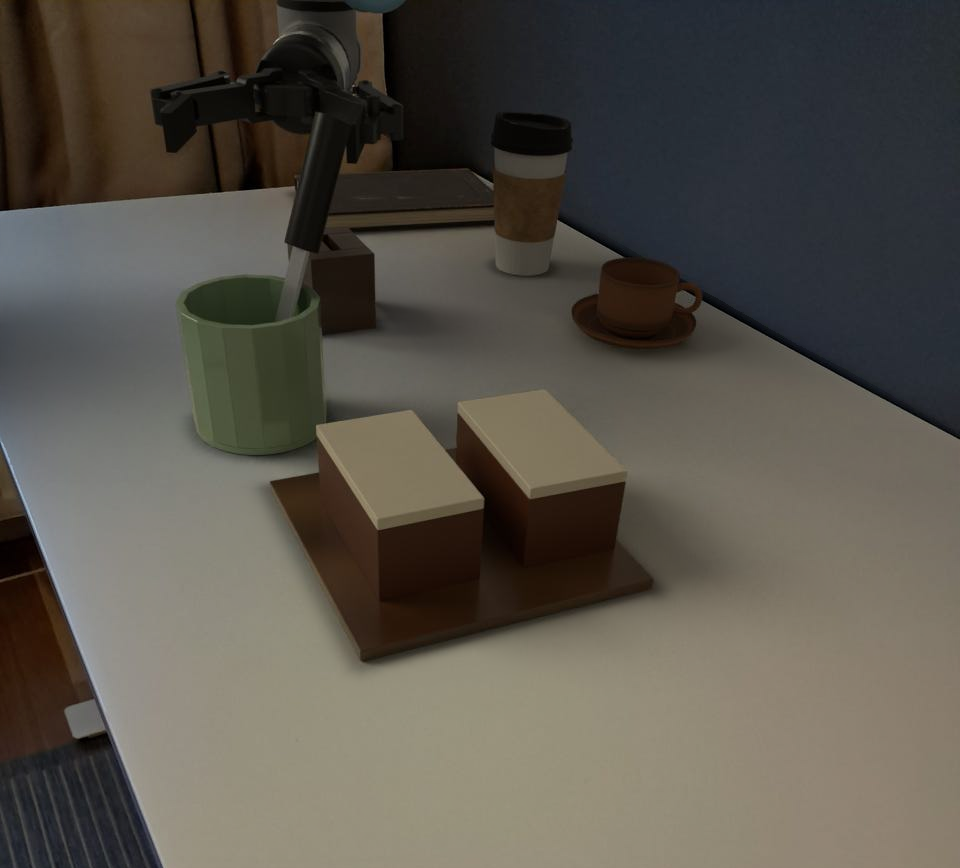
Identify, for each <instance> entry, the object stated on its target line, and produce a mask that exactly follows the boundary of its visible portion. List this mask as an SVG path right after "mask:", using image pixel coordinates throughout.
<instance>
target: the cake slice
mask: <svg viewBox="0 0 960 868" xmlns="http://www.w3.org/2000/svg"><path fill="white" fill-rule="evenodd" d="M456 415H457V416H456V440H455V442H456V443H455V448H456V464H457V465H458V467H459V468H460V469H461V470H462V471H463V473H464V474H465V475H466V476H467V478H468V479H469V480H470V481H471V482H472V484H473V485H474V486H475V487H476V489H477V490H478V491H479V492H480V493H481V495H482V496H483V497H484V508H483V509H484V516H485V518H486V519H487V520H488V522H489V523H490V524H491V526H492V527H493V528H494V530H495V531H496V532H497V534H498V535H499V536H500V538H501V539H502V540H503V542H504V543H505V544H506V546H507V547H508V548H509V550H510V551H511V552H512V554H513V555H514V556H515V558H516V559H517V560H518V562H519V563H520V564H521V566H522V567H523V568H526V567H531V566H536V565H540V564H545V563H550V562H555V561H559V560H564V559H569V558H573V557H578V556H583V555H587V554H592V553H597V552H602V551H606V550H611V549H615V544H616V539H617V537H618V532H619V525H620V519H621V515H622V513H621V512H622V507H623V501H624V495H625V491H626V490H625V489H626V481H627V476H628V470H627V469H626V468H625V467H624V466H623V465H622V464H621V463H620V462H619V461H618V460H617V459H616V458H615V457H614V456H613V455H612V454H611V453H610V452H609V450H607V449H606V448H605V447H604V446H603V445H602V444H601V443H600V442H599V441H598V440H597V439H596V438H595V437H594V436H593V435H592V434H591V433H590V431H588V430H587V429H586V428H585V427H584V426H583V425H582V424H581V423H580V422H579V421H578V420H577V419H576V418H575V417H574V416H573V415H572V414H571V413H570V412H569V411H568V410H567V409H566V408H565V407H564V406H563V405H562V404H561V403H560V402H559V401H558V400H557V399H556V398H555V397H554V396H553V395H552V394H551V393H550V392H549V391H548V390H547V389H545V388H544V389H539V390H531V391H525V392H518V393H512V394H511V393H510V394H505V395H504V394H503V395H497V396H490V397H484V398H483V397H482V398H477V399H470V400H464V401H458V402H457V413H456Z"/></svg>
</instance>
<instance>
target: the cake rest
mask: <svg viewBox="0 0 960 868" xmlns="http://www.w3.org/2000/svg"><path fill="white" fill-rule="evenodd" d="M413 410H414V409H413ZM413 410H412V409H407V410H401V411H395V412H389V413H382V414H377V415H370V416H363V417H358V418H351V419H346V420H338V421H333V422H332V421H331V422H328V423H327V422H326V424H320V425H316V433H317V438H316V446H317V447H316V448H317V462H318V463H317V464H318V465H317V466H318V472H319V480H320V495H321V503H322V505H323V506H324V508H325V510H326V511H327V513H328V515H329V517H330V518H331V520H332V522H333V523H334V525H335V527H336V528H337V530H338V532H339V534H340V535H341V537H342V539H343V540H344V542H345V544H346V545H347V547H348V549H349V551H350V552H351V554H352V556H353V557H354V559H355V561H356V562H357V564H358V566H359V568H360V569H361V571H362V573H363V574H364V576H365V578H366V579H367V581H368V583H369V585H370V586H371V588H372V590H373V591H374V593H375V595H376V597H377V598H378V600H379V601H383V600H387V599H392V598H396V597H400V596H405V595H409V594H413V593H418V592H422V591H426V590H431V589H435V588H439V587H444V586H448V585H452V584H457V583H461V582H465V581H470V580H474V579H478V578H480V566H481V549H482V532H483V516H484V509H483V508H484V497H483V496H482V495H481V493H480V492H479V491H478V490H477V489H476V487H475V486H474V485H473V484H472V482H471V481H470V480H469V479H468V478H467V476H466V475H465V474H464V473H463V471H462V470H461V469H460V468H459V467H458V465H457V464H456V463H455V462H454V460H453V459H452V458H451V457H450V456H449V454H448V453H447V452H446V451H445V450H446V449H445V448H444V447H443V446H442V445H441V443H440V442H439V440H437V438H436V437H435V436H434V435H433V433H432V432H431V430H429V429H428V427H427V426H426V425H425V424H424V422H423V421H422V420H421V419H420V418H419V416H418V415H417V414H416V413H415V412H414V411H413Z"/></svg>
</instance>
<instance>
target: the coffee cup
mask: <svg viewBox="0 0 960 868" xmlns="http://www.w3.org/2000/svg"><path fill="white" fill-rule="evenodd" d="M490 138H491V140H490V144H491V146H492V147H493V148H494V149H493V150H494V151H493V152H494V153H493V154H494V164H492V184H493V189H492V191H494V220H495V224H494V235H495V237H494V238H495V239H494V241H495V245H494V247H495V249H494V250H495V251H494V252H495V266H496V268H497V270H499V271H501V272H503V273H505V274H508V275H513V276H520V277H532V276H533V277H535V276H540V275H542V274H545V273H546V272H548V270H549V268H550V263H551V257H552V252H553V245H554V239H555V235H556V231H557V225H558V219H559V214H560V209H561V204H562V197H563V193H564V187H565V183H566V182H565V181H566V178H567V177H566V176H567V169H566V165H567V159H568V154H569V153H570V152H571V151H572V150H573V142H574V140H573V139H574V138H573V137H572V123H571V121H570V120H568V119H566V118H564V117H561V116H558V115H553V114H547V113H539V112H538V113H537V112H522V111H521V112H520V111H498V112H497V113H496V114H495V117H494V123H493V129H492V132H491V134H490Z"/></svg>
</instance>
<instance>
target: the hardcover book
mask: <svg viewBox="0 0 960 868" xmlns="http://www.w3.org/2000/svg"><path fill="white" fill-rule="evenodd" d="M293 177H294V180H293V181H294V191H295V193H296V190H297V186H298V182H299V178H300V174H295V175H294V176H293ZM483 225H495V220H494V190H493V189H491V187H490V186H488V185H487V184H486V183H485V182H484V181H483V180H481V178H479V176H478V175H477V174H475V172H473V171H472V170H471V169H469V168H444V169H443V168H442V169H441V168H439V169H418V170H417V169H416V170H392V171H368V172H367V171H365V172H343V173H340V172H339V176H338V179H337V183H336V187H335V191H334V195H333V199H332V203H331V207H330V211H329V215H328V219H327V223H326V227H325V228H334V227H345V226H347V227H348V228H349V229H350V230H351V231H352V232H353V233H357V232H375V231H376V232H377V231H392V230H394V231H395V230H411V229H428V228H445V227H447V228H448V227H463V226H464V227H465V226H467V227H468V226H483Z"/></svg>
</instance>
